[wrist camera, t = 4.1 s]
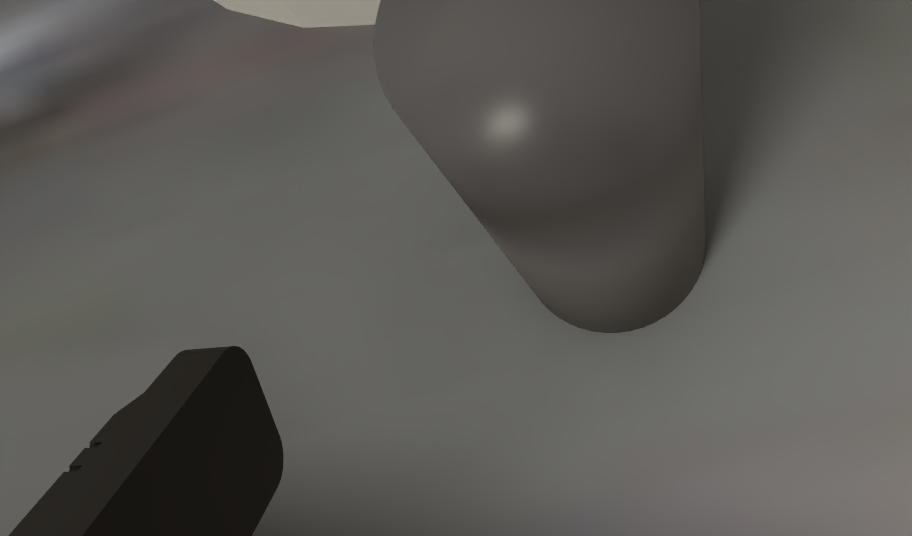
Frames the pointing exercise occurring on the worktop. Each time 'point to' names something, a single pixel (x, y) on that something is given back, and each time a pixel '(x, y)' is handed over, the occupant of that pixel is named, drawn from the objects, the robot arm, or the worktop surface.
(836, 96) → the worktop surface
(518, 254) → the plug
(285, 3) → the dish
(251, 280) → the worktop surface
